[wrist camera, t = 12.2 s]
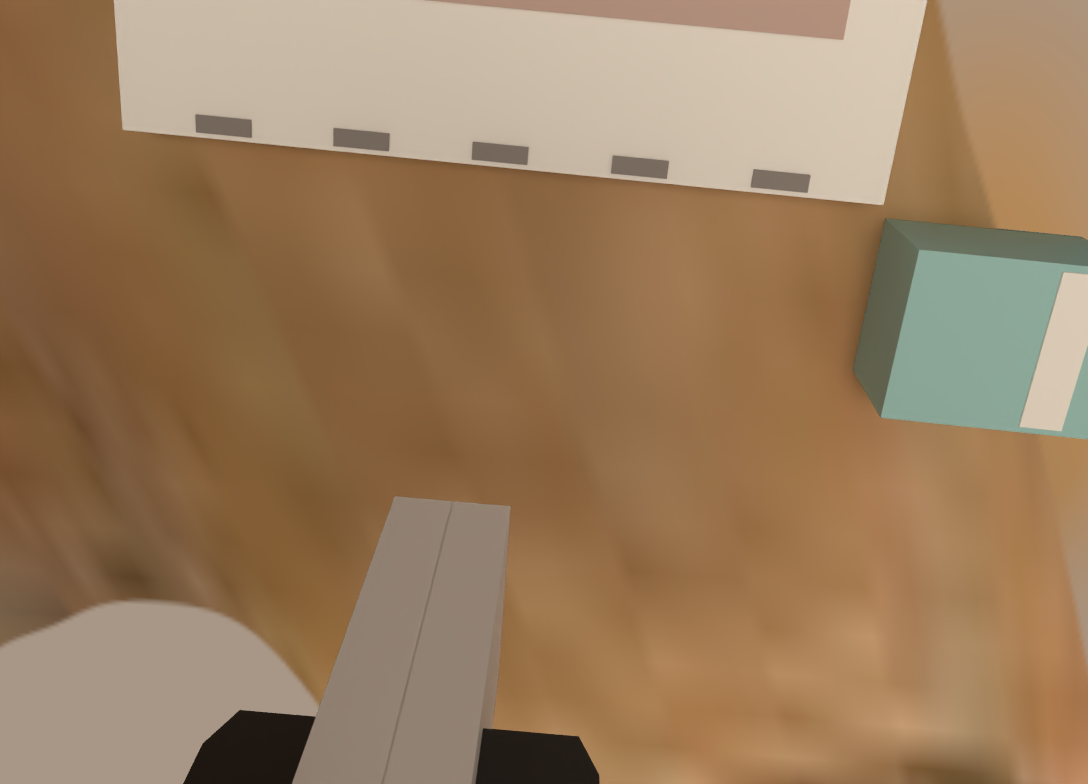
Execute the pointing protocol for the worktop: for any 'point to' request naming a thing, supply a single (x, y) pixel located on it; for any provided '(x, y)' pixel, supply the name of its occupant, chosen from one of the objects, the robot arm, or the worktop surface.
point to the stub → (978, 329)
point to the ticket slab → (542, 84)
